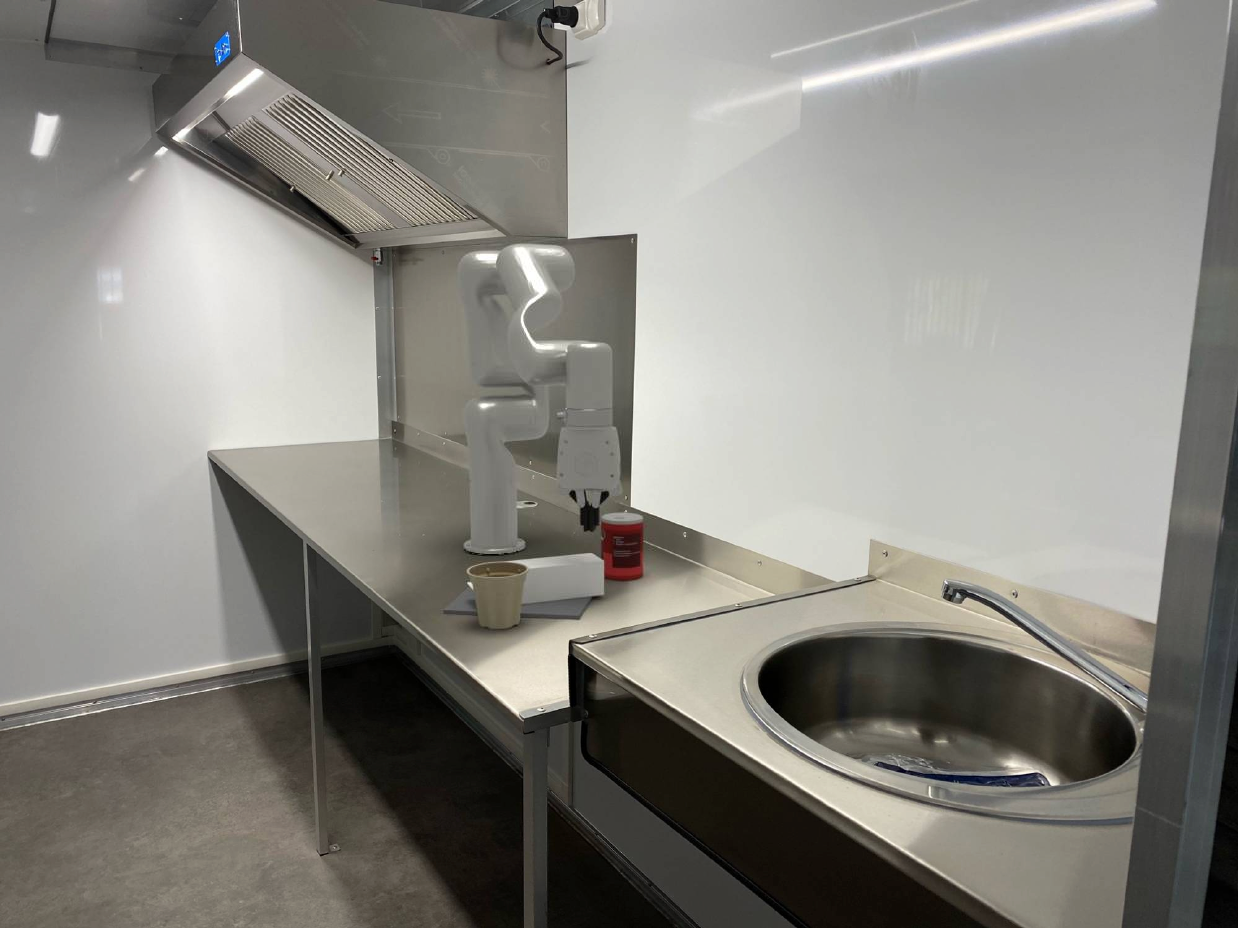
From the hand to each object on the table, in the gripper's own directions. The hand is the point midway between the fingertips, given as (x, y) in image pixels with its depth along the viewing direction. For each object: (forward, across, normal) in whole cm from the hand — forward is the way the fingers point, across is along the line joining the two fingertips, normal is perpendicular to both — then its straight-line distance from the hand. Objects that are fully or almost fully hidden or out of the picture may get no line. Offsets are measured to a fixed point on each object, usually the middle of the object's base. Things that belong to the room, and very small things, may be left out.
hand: (589, 529), depth 152 cm
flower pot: (+12, -12, -14) cm, 22 cm away
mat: (+12, -11, 0) cm, 16 cm away
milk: (+8, +1, +4) cm, 10 cm away
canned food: (+12, +3, +17) cm, 21 cm away
